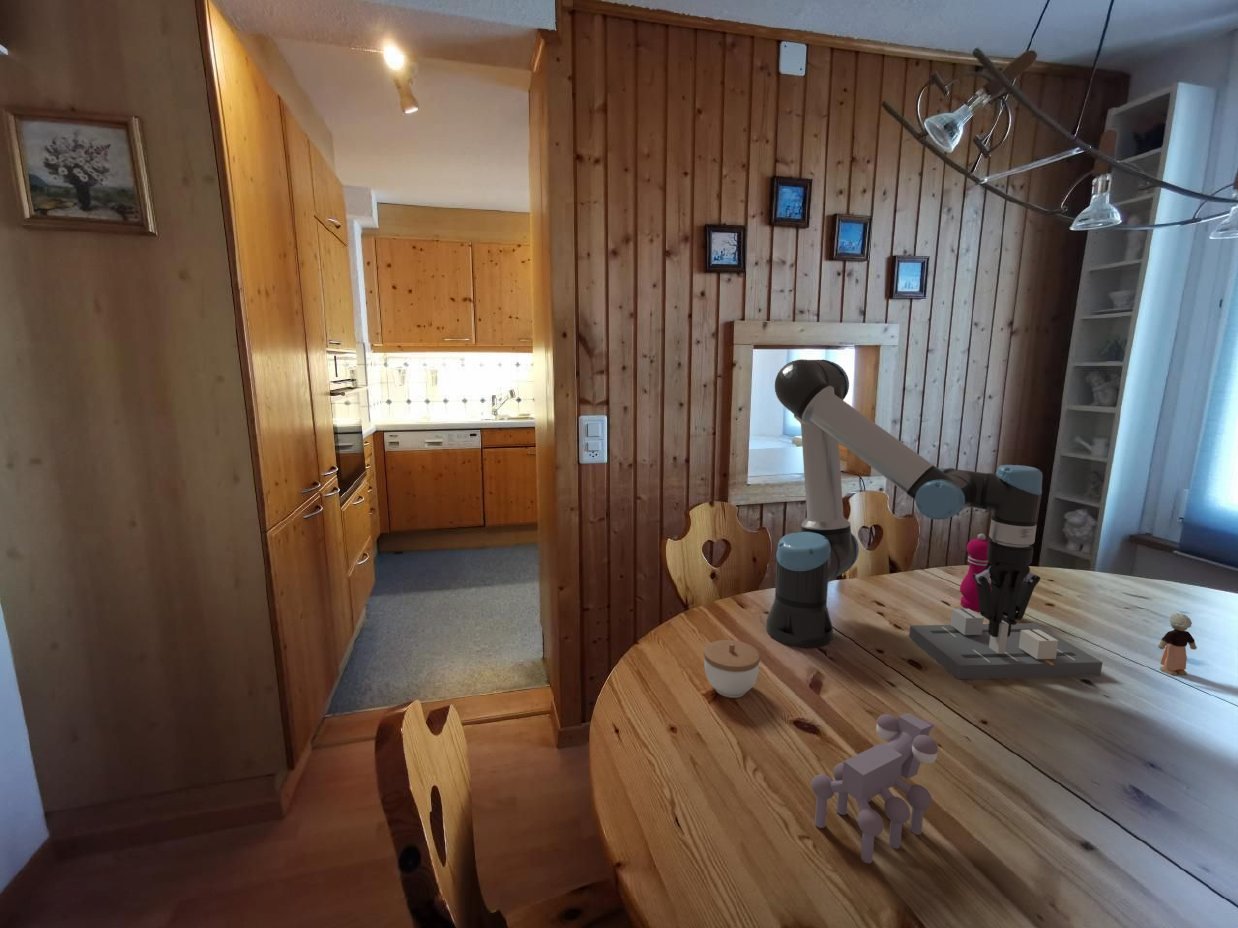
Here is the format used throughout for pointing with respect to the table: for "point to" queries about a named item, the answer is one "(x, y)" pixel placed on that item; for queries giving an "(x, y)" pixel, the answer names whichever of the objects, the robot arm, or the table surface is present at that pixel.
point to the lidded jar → (731, 667)
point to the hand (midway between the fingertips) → (996, 650)
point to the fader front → (1038, 644)
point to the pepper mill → (976, 565)
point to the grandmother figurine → (1176, 645)
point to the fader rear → (967, 621)
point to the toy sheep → (882, 780)
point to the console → (980, 661)
